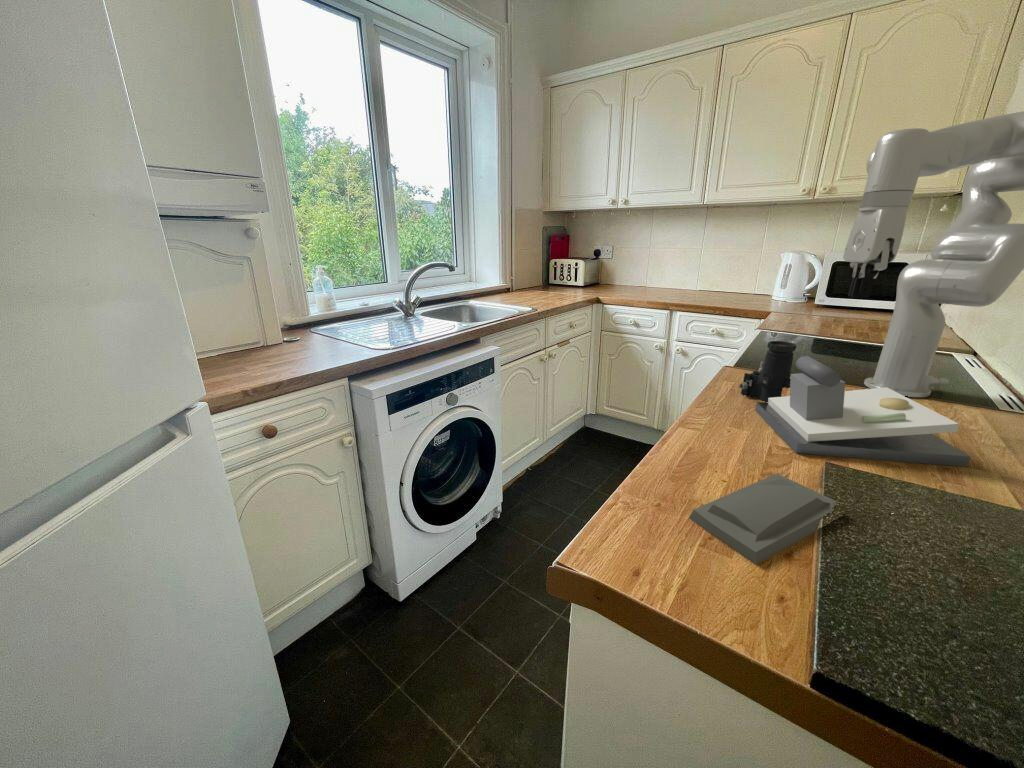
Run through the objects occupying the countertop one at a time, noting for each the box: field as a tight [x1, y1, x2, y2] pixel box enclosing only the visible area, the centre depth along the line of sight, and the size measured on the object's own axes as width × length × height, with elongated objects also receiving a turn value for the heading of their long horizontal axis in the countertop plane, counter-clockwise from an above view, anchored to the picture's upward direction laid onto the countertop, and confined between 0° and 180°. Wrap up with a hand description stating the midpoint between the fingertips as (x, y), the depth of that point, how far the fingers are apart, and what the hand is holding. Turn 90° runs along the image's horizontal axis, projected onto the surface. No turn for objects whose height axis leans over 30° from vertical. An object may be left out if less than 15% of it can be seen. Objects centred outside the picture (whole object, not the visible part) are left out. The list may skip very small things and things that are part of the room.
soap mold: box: [688, 473, 842, 565], centre depth 57 cm, size 10×20×4 cm, turn 118°
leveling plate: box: [768, 355, 959, 442], centre depth 78 cm, size 22×18×12 cm
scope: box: [738, 340, 797, 402], centre depth 96 cm, size 8×14×10 cm
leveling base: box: [754, 401, 971, 468], centre depth 80 cm, size 26×20×2 cm
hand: (858, 297), depth 87 cm, fingers closed
